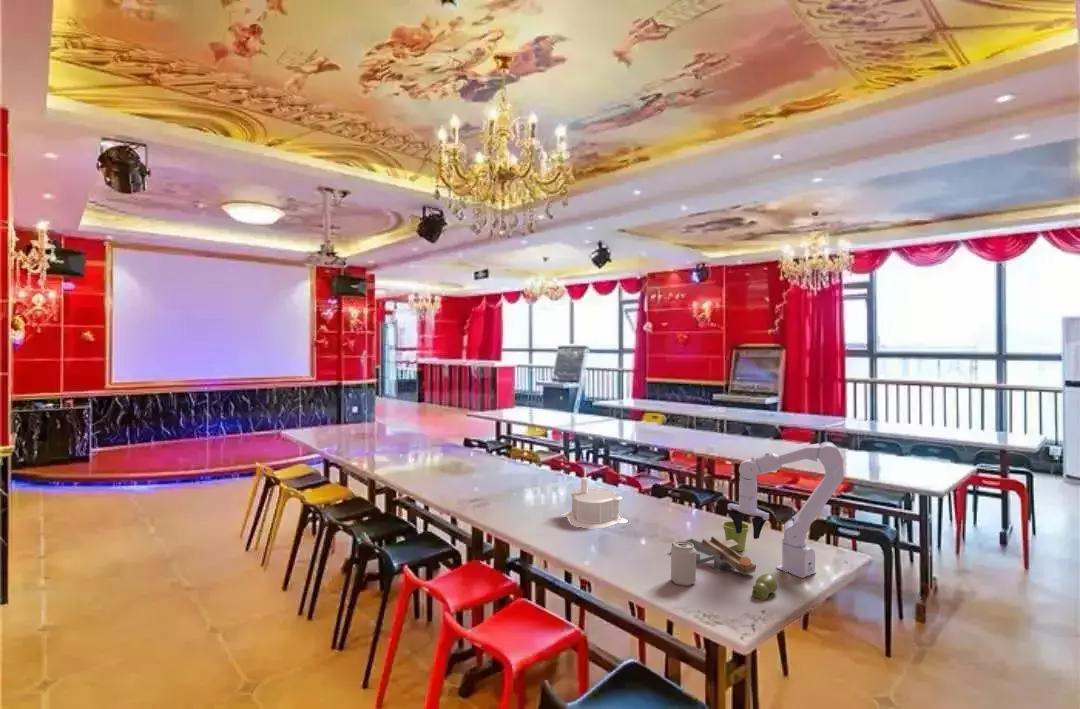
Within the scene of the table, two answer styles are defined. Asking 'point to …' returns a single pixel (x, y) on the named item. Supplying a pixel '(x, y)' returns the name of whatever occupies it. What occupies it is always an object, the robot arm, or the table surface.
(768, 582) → the pear
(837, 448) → the robot arm
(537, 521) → the table surface
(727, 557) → the plank
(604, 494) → the birthday cake
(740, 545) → the plant pot
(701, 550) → the tray
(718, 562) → the fulcrum
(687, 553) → the can
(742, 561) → the ball
